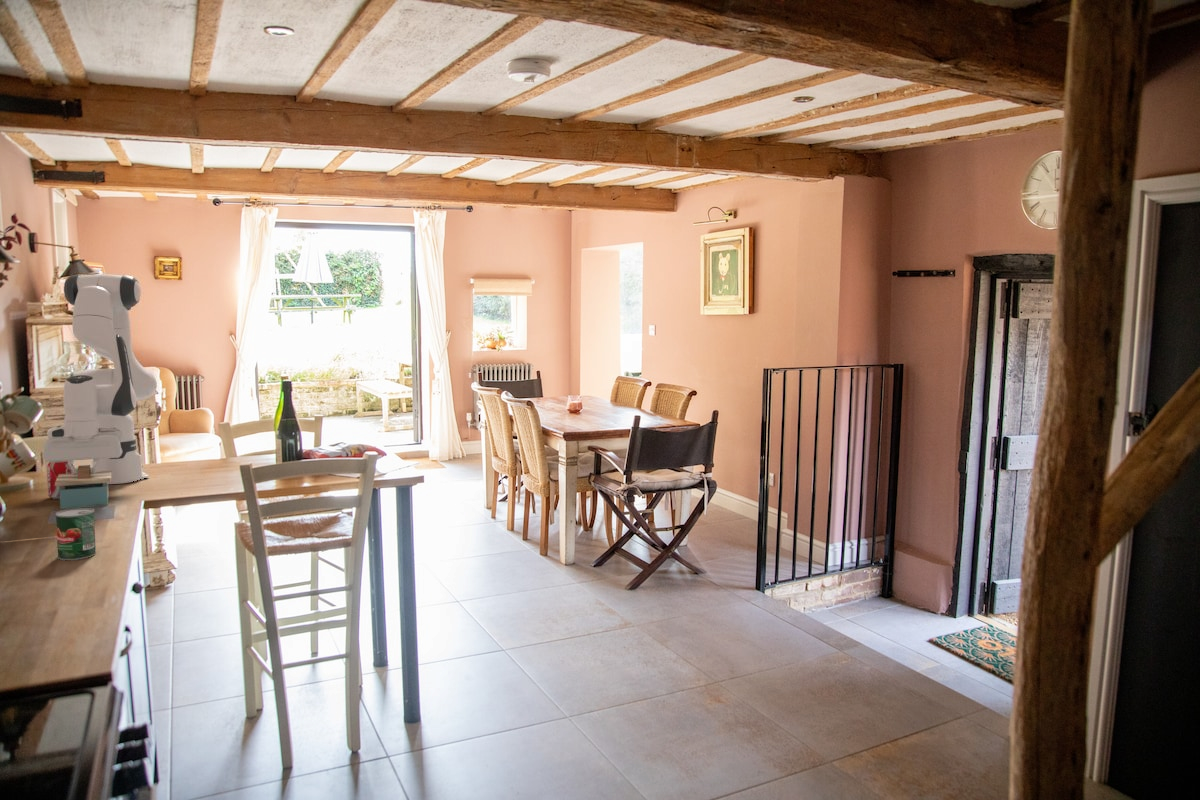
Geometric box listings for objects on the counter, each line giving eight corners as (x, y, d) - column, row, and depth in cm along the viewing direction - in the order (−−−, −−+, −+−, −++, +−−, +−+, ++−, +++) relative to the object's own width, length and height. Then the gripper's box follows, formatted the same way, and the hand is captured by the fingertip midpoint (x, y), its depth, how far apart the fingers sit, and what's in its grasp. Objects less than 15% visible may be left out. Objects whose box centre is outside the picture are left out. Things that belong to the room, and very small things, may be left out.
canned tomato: (52, 561, 192) (50, 516, 191) (64, 552, 200) (62, 508, 199) (89, 559, 195) (87, 515, 193) (100, 550, 202) (98, 507, 201)
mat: (51, 512, 237) (51, 511, 237) (115, 507, 245) (115, 505, 245) (46, 525, 223) (46, 524, 223) (113, 519, 231) (113, 517, 231)
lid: (58, 477, 249) (58, 464, 249) (111, 473, 256) (111, 461, 256) (55, 486, 237) (54, 473, 237) (110, 482, 244) (109, 469, 244)
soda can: (65, 500, 252) (63, 462, 250) (42, 499, 252) (40, 461, 251) (80, 495, 259) (78, 458, 258) (58, 494, 259) (56, 457, 258)
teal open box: (63, 501, 250) (62, 482, 249) (108, 497, 256) (108, 479, 255) (60, 510, 240) (59, 490, 239) (107, 506, 245) (106, 486, 245)
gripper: (121, 426, 253) (123, 469, 255) (43, 429, 243) (45, 474, 244) (121, 428, 248) (123, 473, 249) (40, 432, 237) (43, 478, 239)
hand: (84, 473), depth 247 cm, fingers closed on lid, 3 cm apart
